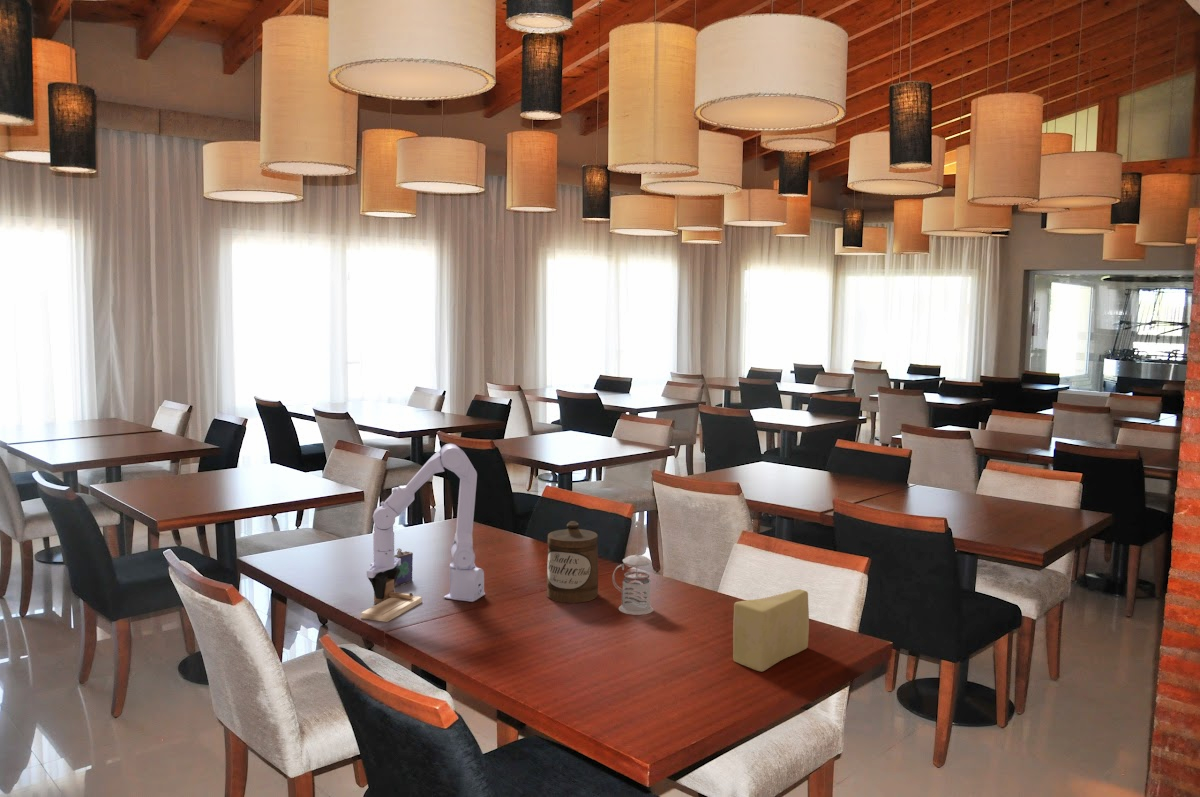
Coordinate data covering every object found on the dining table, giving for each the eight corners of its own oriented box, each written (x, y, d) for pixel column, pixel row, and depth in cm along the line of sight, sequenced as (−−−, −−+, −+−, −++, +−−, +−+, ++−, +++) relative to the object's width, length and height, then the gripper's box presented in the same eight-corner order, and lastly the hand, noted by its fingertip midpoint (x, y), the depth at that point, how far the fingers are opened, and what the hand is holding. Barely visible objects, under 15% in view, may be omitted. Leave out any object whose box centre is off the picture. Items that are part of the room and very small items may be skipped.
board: (422, 602, 262) (422, 596, 262) (387, 621, 245) (387, 616, 245) (397, 598, 264) (397, 593, 264) (361, 618, 247) (361, 612, 247)
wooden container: (539, 600, 265) (540, 524, 263) (557, 585, 280) (557, 514, 277) (588, 605, 261) (589, 529, 259) (604, 591, 275) (605, 518, 273)
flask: (392, 588, 274) (391, 552, 273) (385, 586, 276) (384, 551, 275) (414, 581, 282) (414, 546, 281) (407, 579, 284) (407, 545, 283)
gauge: (415, 602, 261) (415, 579, 260) (408, 607, 257) (408, 583, 257) (382, 598, 265) (381, 574, 264) (374, 602, 261) (374, 578, 260)
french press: (650, 616, 253) (652, 526, 251) (609, 612, 255) (610, 523, 253) (655, 605, 263) (657, 518, 260) (615, 601, 265) (617, 515, 263)
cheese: (790, 641, 235) (792, 583, 234) (821, 653, 228) (824, 593, 226) (730, 661, 221) (732, 599, 220) (761, 673, 214) (763, 610, 212)
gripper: (385, 541, 269) (386, 587, 270) (356, 553, 255) (357, 601, 256) (407, 544, 267) (407, 590, 268) (379, 556, 253) (379, 605, 254)
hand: (384, 596), depth 262 cm, fingers closed on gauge, 4 cm apart
